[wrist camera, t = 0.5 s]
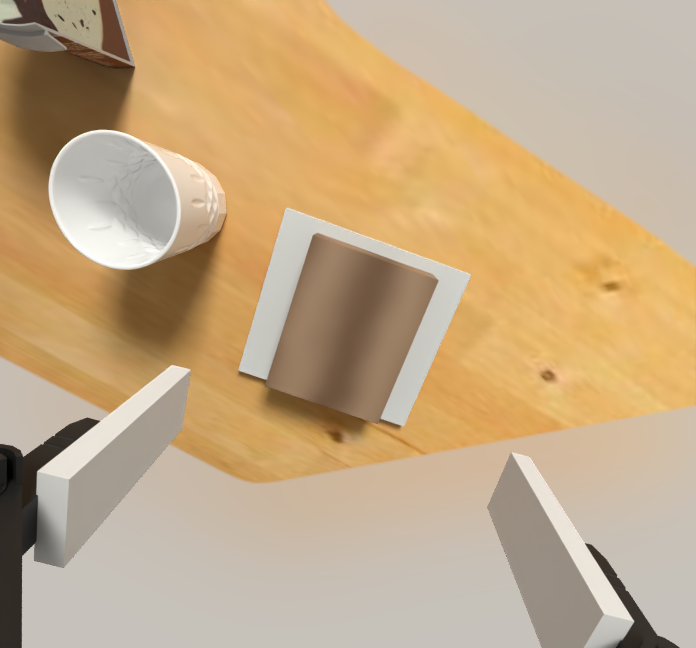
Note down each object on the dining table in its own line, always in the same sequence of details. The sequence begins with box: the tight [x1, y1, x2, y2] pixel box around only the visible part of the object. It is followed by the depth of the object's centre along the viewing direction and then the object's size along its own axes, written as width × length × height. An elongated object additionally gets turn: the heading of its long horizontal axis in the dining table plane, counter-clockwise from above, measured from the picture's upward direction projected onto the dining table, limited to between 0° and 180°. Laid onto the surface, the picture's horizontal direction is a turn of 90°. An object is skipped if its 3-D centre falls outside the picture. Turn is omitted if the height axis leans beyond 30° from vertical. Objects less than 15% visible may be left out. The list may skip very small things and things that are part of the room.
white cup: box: [49, 130, 227, 270], centre depth 28 cm, size 8×8×10 cm
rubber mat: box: [238, 208, 471, 426], centre depth 35 cm, size 16×15×1 cm
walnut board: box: [265, 233, 439, 424], centre depth 33 cm, size 10×13×3 cm
